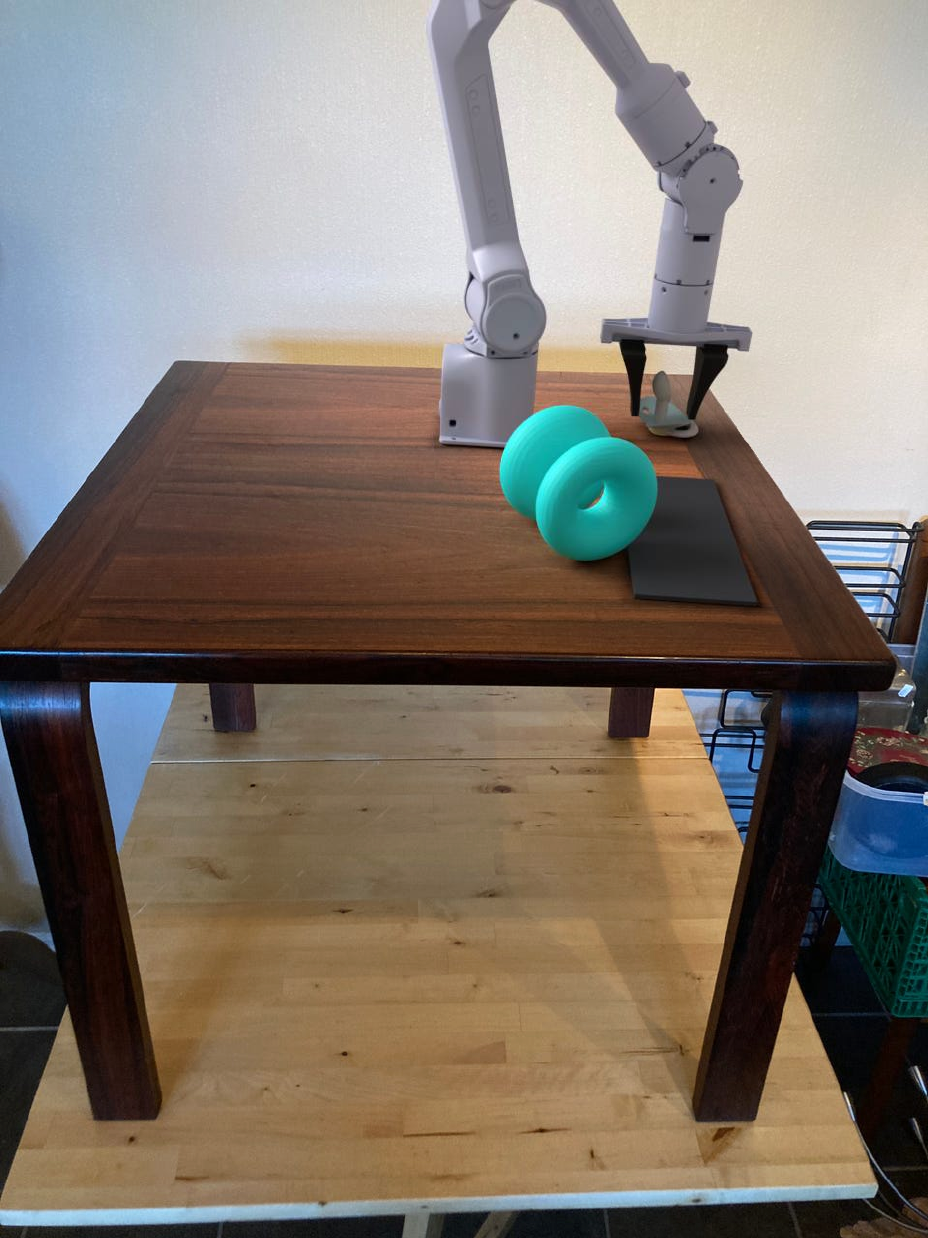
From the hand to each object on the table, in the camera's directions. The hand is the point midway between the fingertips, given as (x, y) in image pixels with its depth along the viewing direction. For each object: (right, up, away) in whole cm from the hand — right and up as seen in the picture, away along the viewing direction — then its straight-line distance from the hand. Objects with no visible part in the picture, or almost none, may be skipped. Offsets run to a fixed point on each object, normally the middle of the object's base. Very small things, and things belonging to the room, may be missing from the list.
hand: (662, 414), depth 100 cm
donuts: (-12, -15, -21) cm, 28 cm away
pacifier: (+1, -2, +1) cm, 2 cm away
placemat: (-3, -14, -19) cm, 24 cm away
